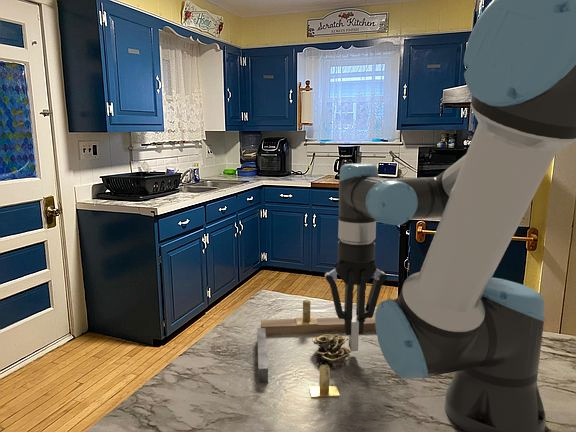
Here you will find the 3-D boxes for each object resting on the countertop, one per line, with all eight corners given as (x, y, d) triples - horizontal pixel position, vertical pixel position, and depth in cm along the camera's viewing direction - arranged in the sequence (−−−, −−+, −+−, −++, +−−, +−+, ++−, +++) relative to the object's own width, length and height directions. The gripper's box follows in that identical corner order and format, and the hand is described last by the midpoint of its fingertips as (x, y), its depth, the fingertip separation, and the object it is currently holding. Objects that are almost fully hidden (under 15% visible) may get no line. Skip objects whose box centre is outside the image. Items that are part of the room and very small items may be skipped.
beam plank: (385, 330, 107) (386, 302, 106) (261, 334, 105) (260, 305, 103) (380, 323, 111) (381, 296, 110) (260, 327, 109) (260, 299, 107)
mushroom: (350, 371, 88) (350, 351, 88) (312, 370, 89) (312, 350, 88) (347, 344, 100) (347, 326, 99) (314, 343, 101) (314, 325, 100)
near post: (339, 396, 80) (339, 371, 79) (311, 397, 79) (312, 372, 78) (336, 387, 83) (336, 362, 82) (309, 388, 82) (309, 363, 81)
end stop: (268, 383, 84) (268, 368, 84) (258, 383, 84) (258, 368, 83) (265, 340, 102) (265, 328, 101) (257, 340, 102) (257, 328, 101)
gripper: (382, 235, 94) (378, 339, 98) (322, 236, 93) (320, 341, 98) (393, 244, 87) (388, 355, 91) (327, 245, 86) (325, 357, 90)
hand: (353, 348), depth 94 cm, fingers closed
